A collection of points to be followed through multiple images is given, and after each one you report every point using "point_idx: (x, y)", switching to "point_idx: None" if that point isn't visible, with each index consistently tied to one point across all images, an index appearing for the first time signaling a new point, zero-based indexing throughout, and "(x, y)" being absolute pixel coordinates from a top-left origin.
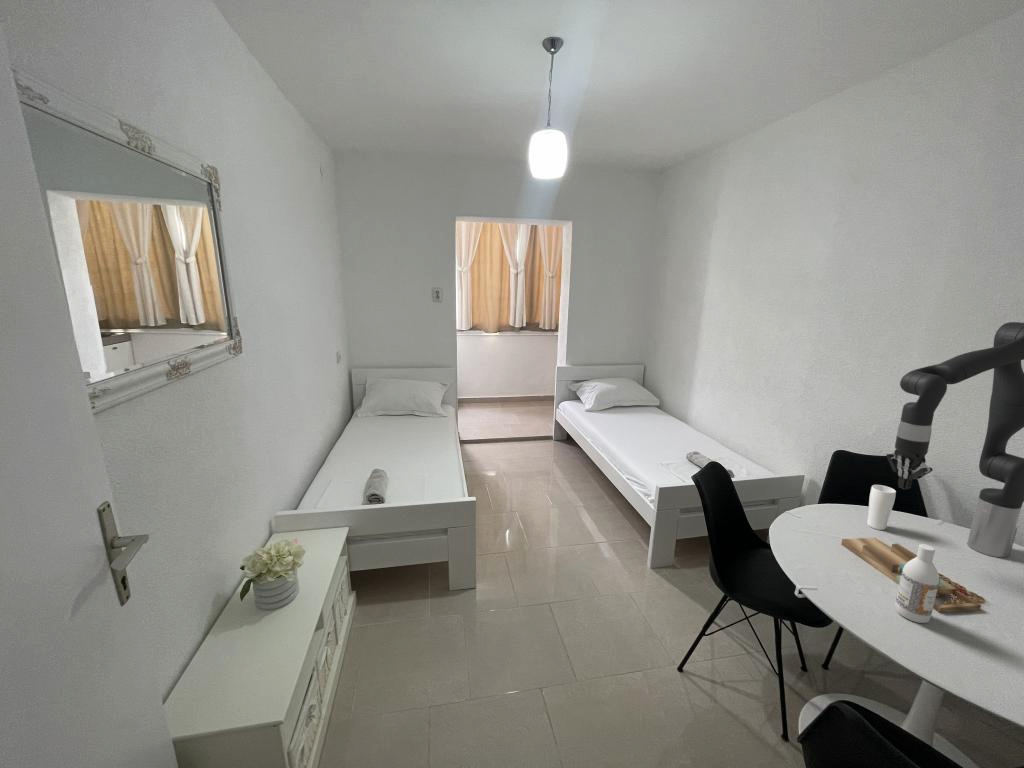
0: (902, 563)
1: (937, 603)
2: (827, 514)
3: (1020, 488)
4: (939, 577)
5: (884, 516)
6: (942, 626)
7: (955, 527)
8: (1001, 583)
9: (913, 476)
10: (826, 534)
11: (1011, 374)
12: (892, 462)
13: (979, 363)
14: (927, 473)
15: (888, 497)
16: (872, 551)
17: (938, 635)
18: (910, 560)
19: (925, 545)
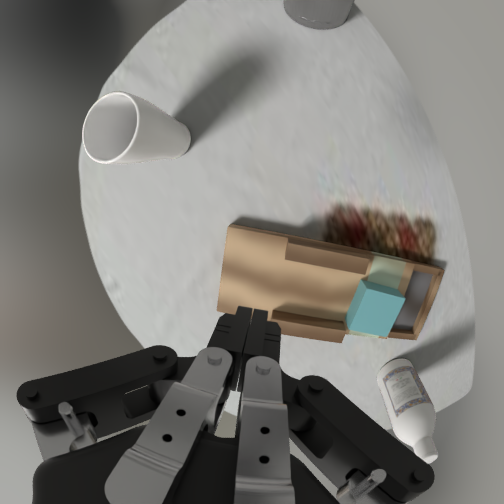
0: (350, 328)
1: (411, 334)
2: (110, 208)
3: None
4: (403, 300)
5: (175, 143)
6: (422, 356)
7: None
8: (415, 124)
9: (313, 439)
10: (180, 295)
11: None
12: (114, 428)
13: None
14: (393, 443)
15: (145, 140)
16: (293, 335)
17: (423, 373)
18: (403, 440)
19: (426, 460)
